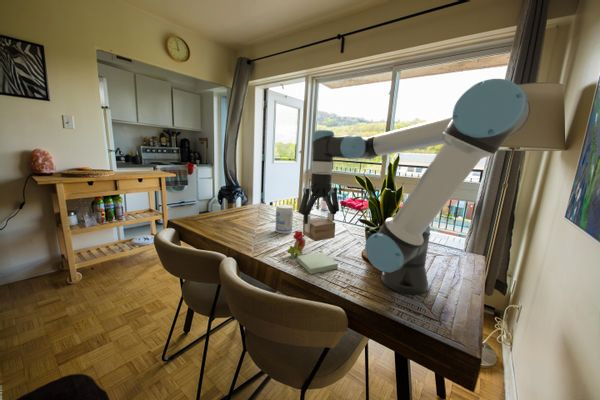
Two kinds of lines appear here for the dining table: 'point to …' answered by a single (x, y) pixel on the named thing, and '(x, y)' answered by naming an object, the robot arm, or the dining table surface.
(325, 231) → the walnut block
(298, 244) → the bird rattle
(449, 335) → the dining table surface
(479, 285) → the dining table surface
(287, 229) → the supplement tub
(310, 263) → the base plate
